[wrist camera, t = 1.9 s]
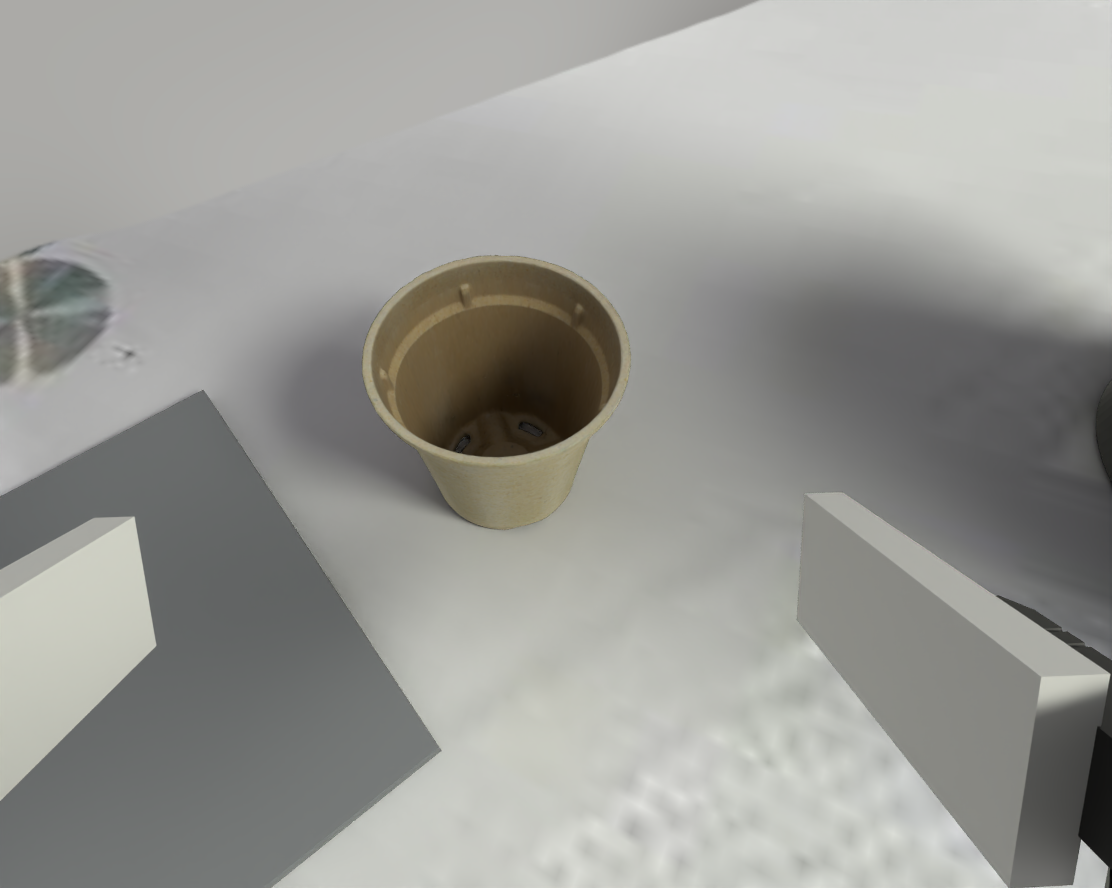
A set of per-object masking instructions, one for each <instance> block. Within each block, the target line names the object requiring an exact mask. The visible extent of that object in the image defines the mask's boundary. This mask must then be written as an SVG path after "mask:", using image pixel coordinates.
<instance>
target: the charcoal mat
mask: <svg viewBox="0 0 1112 888" xmlns="http://www.w3.org/2000/svg"><path fill="white" fill-rule="evenodd" d="M133 516H134V517H135V523H136V529H137V535H138V540H139V546H140V552H141V558H142V564H143V570H144V576H145V582H146V587H147V593H148V599H149V605H150V611H151V617H152V623H153V629H154V635H155V640H156V647H155V648H154V649H153V650H152V651H151V652H150V653H149V654H148V655H147V656H146V657H145V658H144V659H143V660H142V661H141V662H140V663H139V664H138V665H137V666H136V667H135V668H134V669H132V670H131V671H130V672H129V673H128V674H127V675H126V676H125V677H124V678H123V679H122V680H121V681H120V682H119V683H118V684H117V685H116V686H115V687H114V688H113V689H112V690H111V691H110V692H109V693H108V694H107V695H106V696H105V697H104V698H103V699H102V700H101V701H100V702H99V703H98V704H97V705H96V706H95V707H94V708H93V709H92V710H91V711H90V712H89V713H88V714H87V715H86V716H85V717H84V718H83V719H82V720H81V721H80V722H79V723H78V724H77V725H76V726H75V727H74V728H73V729H72V730H71V731H70V732H69V733H68V734H67V735H66V736H65V737H64V738H63V739H62V740H61V741H60V742H59V743H58V744H57V745H56V746H55V747H54V748H53V749H52V750H51V751H50V752H49V753H48V754H47V755H46V756H45V757H44V758H43V759H42V760H41V761H40V762H39V763H38V764H37V765H36V766H35V767H34V768H33V769H32V770H31V771H30V772H29V773H28V774H27V775H26V776H25V777H24V778H23V779H22V780H21V781H20V782H19V783H18V784H17V785H16V786H15V787H14V788H13V789H12V790H11V791H10V792H9V793H8V794H7V795H6V796H5V797H4V798H3V799H2V800H1V801H0V888H271V887H272V886H274V885H275V884H276V883H277V882H279V881H280V880H281V879H282V878H284V877H285V876H286V875H287V874H288V873H290V872H291V871H292V870H293V869H295V868H296V867H297V866H298V865H300V864H301V863H302V862H303V861H305V860H306V859H307V858H308V857H310V856H311V855H312V854H313V853H315V852H316V851H317V850H318V849H320V848H321V847H322V846H323V845H325V844H326V843H327V842H328V841H330V840H331V839H332V838H333V837H335V836H336V835H337V834H338V833H339V832H341V831H342V830H343V829H344V828H346V827H347V826H348V825H349V824H351V823H352V822H353V821H354V820H356V819H357V818H358V817H359V816H361V815H362V814H363V813H364V812H366V811H367V810H368V809H369V808H371V807H372V806H373V805H374V804H376V803H377V802H378V801H379V800H381V799H382V798H383V797H384V796H386V795H387V794H388V793H389V792H390V791H392V790H393V789H394V788H395V787H397V786H398V785H399V784H400V783H402V782H403V781H404V780H405V779H407V778H408V777H409V776H410V775H412V774H413V773H414V772H415V771H417V770H418V769H419V768H420V767H422V766H423V765H424V764H425V763H427V762H428V761H429V760H430V759H432V758H433V757H434V756H435V755H437V754H438V753H439V752H440V751H441V749H440V748H439V746H438V745H437V743H436V742H435V740H434V739H433V737H432V736H431V734H430V733H429V731H428V730H427V728H426V727H425V725H424V723H423V722H422V720H421V719H420V717H419V716H418V714H417V713H416V711H415V710H414V708H413V707H412V705H411V704H410V702H409V701H408V699H407V698H406V696H405V695H404V693H403V692H402V690H401V689H400V687H399V686H398V684H397V683H396V681H395V679H394V678H393V676H392V675H391V673H390V672H389V670H388V669H387V667H386V666H385V664H384V663H383V661H382V660H381V658H380V657H379V655H378V654H377V652H376V651H375V649H374V648H373V646H372V645H371V643H370V642H369V640H368V639H367V637H366V635H365V634H364V632H363V631H362V629H361V628H360V626H359V625H358V623H357V622H356V620H355V619H354V617H353V616H352V614H351V613H350V611H349V610H348V608H347V607H346V605H345V604H344V602H343V601H342V599H341V598H340V596H339V595H338V593H337V591H336V590H335V588H334V587H333V585H332V584H331V582H330V581H329V579H328V578H327V576H326V575H325V573H324V572H323V570H322V569H321V567H320V566H319V564H318V563H317V561H316V560H315V558H314V557H313V555H312V554H311V552H310V550H309V549H308V547H307V546H306V544H305V543H304V541H303V540H302V538H301V537H300V535H299V534H298V532H297V531H296V529H295V528H294V526H293V525H292V523H291V522H290V520H289V519H288V517H287V516H286V514H285V513H284V511H283V510H282V508H281V506H280V505H279V503H278V502H277V500H276V499H275V497H274V496H273V494H272V493H271V491H270V490H269V488H268V487H267V485H266V484H265V482H264V481H263V479H262V478H261V476H260V475H259V473H258V472H257V470H256V469H255V467H254V466H253V464H252V462H251V461H250V459H249V458H248V456H247V455H246V453H245V452H244V450H243V449H242V447H241V446H240V444H239V443H238V441H237V440H236V438H235V437H234V435H233V434H232V432H231V431H230V429H229V428H228V426H227V425H226V423H225V422H224V420H223V418H222V417H221V415H220V414H219V412H218V411H217V409H216V408H215V406H214V405H213V403H212V402H211V400H210V399H209V397H208V396H207V395H206V393H205V392H204V390H202V391H200V392H198V393H196V394H194V395H192V396H190V397H189V398H187V399H185V400H183V401H181V402H179V403H177V404H175V405H173V406H172V407H170V408H168V409H166V410H164V411H162V412H160V413H158V414H156V415H154V416H153V417H151V418H149V419H147V420H145V421H143V422H141V423H139V424H137V425H135V426H134V427H132V428H130V429H128V430H126V431H124V432H122V433H120V434H118V435H117V436H115V437H113V438H111V439H109V440H107V441H105V442H103V443H101V444H99V445H98V446H96V447H94V448H92V449H90V450H88V451H86V452H84V453H82V454H80V455H79V456H77V457H75V458H73V459H71V460H69V461H67V462H65V463H63V464H62V465H60V466H58V467H56V468H54V469H52V470H50V471H48V472H46V473H44V474H43V475H41V476H39V477H37V478H35V479H33V480H31V481H29V482H27V483H25V484H24V485H22V486H20V487H18V488H16V489H14V490H12V491H10V492H8V493H7V494H5V495H3V496H1V497H0V570H1V569H3V568H4V567H6V566H8V565H10V564H12V563H13V562H15V561H17V560H19V559H21V558H22V557H24V556H26V555H28V554H30V553H31V552H33V551H35V550H37V549H39V548H40V547H42V546H44V545H46V544H48V543H49V542H51V541H53V540H55V539H57V538H58V537H60V536H62V535H64V534H66V533H67V532H69V531H71V530H73V529H75V528H77V527H78V526H80V525H82V524H84V523H86V522H87V521H89V520H91V519H93V518H104V517H133Z"/></svg>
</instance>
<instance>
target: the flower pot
mask: <svg viewBox="0 0 1112 888" xmlns="http://www.w3.org/2000/svg"><path fill="white" fill-rule="evenodd" d="M630 367H631V352H630V345H629V340H628V336H627V332H626V331H625V327H624V325H623V322H622V320H621V318H620V316H619V315H618V313H617V312H616V310H615V309H614V307H613V306H612V304H611V303H610V302H609V301H608V300H607V298H606V297H605V296H604V295H603V294H602V293H601V292H600V291H599V290H598V289H597V288H596V287H594V286H593V285H592V284H591V283H589V282H588V281H586V280H584V279H583V278H582V277H580V276H578V275H577V274H575V273H574V272H572V271H569V270H567V269H565V268H563V267H560V266H557V265H554V264H552V263H548V262H545V261H540V260H536V259H531V258H527V257H520V256H498V255H495V256H491V255H490V256H476V257H471V258H467V259H462V260H457V261H453V262H450V263H447V264H444V265H441V266H439V267H437V268H434V269H433V270H431V271H428V272H425V273H423V274H421V275H420V276H418V277H416V278H415V279H414V280H413V281H411V282H410V283H408V284H407V285H406V286H404V287H402V288H401V289H400V290H399V291H398V292H397V293H396V294H395V295H393V296H392V298H391V299H390V300H389V301H388V302H387V303H386V304H385V305H384V306H383V308H382V309H381V311H380V312H379V313H378V315H377V317H376V318H375V320H374V321H373V323H372V325H371V327H370V329H369V331H368V334H367V337H366V341H365V344H364V347H363V357H362V376H363V379H364V380H363V381H364V384H365V388H366V391H367V394H368V396H369V399H370V401H371V403H372V405H373V407H374V408H375V410H376V412H377V413H378V415H379V416H380V418H381V419H382V420H383V422H384V423H385V424H386V425H387V426H388V427H389V428H390V429H391V431H392V432H394V433H395V434H396V435H397V436H398V437H399V438H400V439H402V440H403V441H404V442H405V443H407V444H408V445H410V446H411V447H413V448H415V449H417V451H418V452H419V454H420V456H421V457H422V459H423V461H424V463H425V464H426V466H427V468H428V470H429V471H430V473H431V475H432V476H433V478H434V480H435V482H436V483H437V485H438V487H439V489H440V491H441V493H442V495H443V497H444V498H445V500H446V502H447V503H448V504H449V505H450V506H451V507H452V508H453V509H454V510H455V511H456V512H457V513H458V514H459V515H460V516H462V517H463V518H465V519H466V520H468V521H470V522H472V523H474V524H477V525H480V526H483V527H487V528H492V529H502V530H506V529H512V528H515V527H519V526H524V525H528V524H531V523H534V522H537V521H540V520H543V519H544V518H546V517H548V516H549V515H550V514H552V513H553V512H554V511H555V510H556V509H557V508H558V507H559V506H560V505H561V504H562V502H563V501H564V500H565V498H566V497H567V495H568V493H569V492H570V489H571V487H572V484H573V481H574V478H575V475H576V472H577V469H578V467H579V464H580V461H581V459H582V456H583V453H584V451H585V448H586V446H587V443H588V441H589V438H590V437H591V436H592V435H593V434H594V433H596V432H597V431H598V430H599V429H600V428H601V427H602V426H603V425H604V423H605V422H606V421H607V420H608V419H609V418H610V416H611V415H612V414H613V412H614V410H615V409H616V407H617V406H618V404H619V402H620V400H621V398H622V396H623V393H624V391H625V388H626V385H627V382H628V377H629V372H630ZM521 423H529V424H531V425H533V426H534V427H536V429H540V430H541V431H542V432H543V434H541V436H540V437H537V436H535V435H533V434H530V433H528V432H526V431H524V430H522V429H519V425H520V424H521ZM467 435H469V436H470V442H469V444H468V445H467V446H465V448H464V449H463V451H462V453H456V452H455V449H456V447H457V446H458V444H459V442H460V441H461V439H462V438H463V437H465V436H467Z"/></svg>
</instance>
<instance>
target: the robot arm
mask: <svg viewBox="0 0 1112 888" xmlns="http://www.w3.org/2000/svg"><path fill="white" fill-rule="evenodd" d="M1096 429H1097V439H1098V446H1099V450H1100V454H1101V457H1102V460H1103V463H1104V466H1105V468H1106V471H1107V473H1108V475H1109V478H1110V480H1111V481H1112V380H1111V381H1110V383H1109V384H1108V385H1107V387H1106V389H1105V391H1104V392H1103V395H1102V397H1101V400H1100V403H1099V407H1098V412H1097V421H1096ZM797 621H798V622H799V623H800V624H801V626H802V627H803V628H804V630H805V631H806V632H807V633H808V635H809V636H810V637H811V638H812V640H813V641H814V642H815V643H816V645H817V646H818V647H819V649H820V650H821V651H822V652H823V654H824V655H825V656H826V657H827V659H828V660H829V661H830V662H831V664H832V665H833V666H834V668H835V669H836V670H837V671H838V673H839V674H840V675H841V676H842V678H843V679H844V680H845V681H846V683H847V684H848V685H849V686H850V688H851V689H852V690H853V692H854V693H855V694H856V695H857V697H858V698H859V699H860V700H861V702H862V703H863V704H864V705H865V707H866V708H867V709H868V711H869V712H870V713H871V714H872V716H873V717H874V718H875V719H876V721H877V722H878V723H879V724H880V726H881V727H882V728H883V729H884V731H885V732H886V733H887V735H888V736H889V737H890V738H891V740H892V741H893V742H894V743H895V745H896V746H897V747H898V748H899V750H900V751H901V752H902V754H903V755H904V756H905V757H906V759H907V760H908V761H909V762H910V764H911V765H912V766H913V767H914V769H915V770H916V771H917V772H918V774H919V775H920V776H921V778H922V779H923V780H924V781H925V783H926V784H927V785H928V786H929V788H930V789H931V790H932V791H933V793H934V794H935V795H936V797H937V798H938V799H939V800H940V802H941V803H942V804H943V805H944V807H945V808H946V809H947V810H948V812H949V813H950V814H951V815H952V817H953V818H954V819H955V821H956V822H957V823H958V824H959V826H960V827H961V828H962V829H963V831H964V832H965V833H966V834H967V836H968V837H969V838H970V840H971V841H972V842H973V843H974V845H975V846H976V847H977V848H978V850H979V851H980V852H981V853H982V855H983V856H984V857H985V858H986V860H987V861H988V862H989V864H990V865H991V866H992V867H993V869H994V870H995V871H996V872H997V874H998V875H999V876H1000V877H1001V879H1002V880H1003V881H1004V883H1005V884H1006V885H1007V886H1008V888H1025V887H1044V886H1062V885H1073V882H1074V876H1075V871H1076V865H1077V859H1078V854H1079V848H1080V842H1081V839H1082V840H1083V841H1084V842H1085V843H1086V844H1087V845H1088V846H1089V847H1090V849H1091V850H1092V851H1093V852H1094V853H1095V854H1096V855H1097V856H1098V857H1099V858H1100V859H1101V860H1102V861H1103V862H1104V863H1105V864H1106V865H1107V866H1108V867H1109V868H1108V873H1107V878H1106V883H1105V888H1112V660H1110V659H1109V658H1107V657H1105V656H1104V655H1102V654H1101V653H1099V652H1098V651H1096V650H1095V649H1093V648H1092V647H1085V643H1084V642H1083V641H1081V640H1079V639H1078V638H1076V637H1075V636H1073V635H1072V634H1070V633H1069V632H1063V631H1062V628H1061V627H1060V626H1058V625H1057V624H1055V623H1053V622H1052V621H1050V620H1049V619H1047V618H1046V617H1044V616H1043V615H1041V614H1040V613H1038V612H1037V611H1035V610H1033V609H1030V608H1028V607H1026V606H1023V605H1021V604H1018V603H1016V602H1013V601H1011V600H1008V599H1006V598H1003V597H1001V596H995V595H993V594H992V593H990V592H989V591H987V590H986V589H984V588H983V587H982V586H980V585H979V584H977V583H976V582H974V581H973V580H971V579H970V578H968V577H967V576H965V575H964V574H962V573H961V572H959V571H958V570H956V569H955V568H953V567H952V566H951V565H949V564H948V563H946V562H945V561H943V560H942V559H940V558H939V557H937V556H936V555H934V554H933V553H931V552H930V551H928V550H927V549H925V548H924V547H923V546H921V545H920V544H918V543H917V542H915V541H914V540H912V539H911V538H909V537H908V536H906V535H905V534H903V533H902V532H900V531H899V530H897V529H896V528H894V527H893V526H892V525H890V524H889V523H887V522H886V521H884V520H883V519H881V518H880V517H878V516H877V515H875V514H874V513H872V512H871V511H869V510H868V509H866V508H865V507H864V506H862V505H861V504H859V503H858V502H856V501H855V500H853V499H852V498H850V497H849V496H847V495H846V494H844V493H843V492H830V493H804V510H803V526H802V542H801V558H800V575H799V591H798V607H797ZM155 647H156V640H155V635H154V629H153V623H152V617H151V611H150V605H149V599H148V593H147V587H146V582H145V576H144V570H143V564H142V558H141V552H140V546H139V540H138V535H137V529H136V523H135V517H134V516H133V517H104V518H93V519H91V520H89V521H87V522H86V523H84V524H82V525H80V526H78V527H77V528H75V529H73V530H71V531H69V532H67V533H66V534H64V535H62V536H60V537H58V538H57V539H55V540H53V541H51V542H49V543H48V544H46V545H44V546H42V547H40V548H39V549H37V550H35V551H33V552H31V553H30V554H28V555H26V556H24V557H22V558H21V559H19V560H17V561H15V562H13V563H12V564H10V565H8V566H6V567H4V568H3V569H1V570H0V801H1V800H2V799H3V798H4V797H5V796H6V795H7V794H8V793H9V792H10V791H11V790H12V789H13V788H14V787H15V786H16V785H17V784H18V783H19V782H20V781H21V780H22V779H23V778H24V777H25V776H26V775H27V774H28V773H29V772H30V771H31V770H32V769H33V768H34V767H35V766H36V765H37V764H38V763H39V762H40V761H41V760H42V759H43V758H44V757H45V756H46V755H47V754H48V753H49V752H50V751H51V750H52V749H53V748H54V747H55V746H56V745H57V744H58V743H59V742H60V741H61V740H62V739H63V738H64V737H65V736H66V735H67V734H68V733H69V732H70V731H71V730H72V729H73V728H74V727H75V726H76V725H77V724H78V723H79V722H80V721H81V720H82V719H83V718H84V717H85V716H86V715H87V714H88V713H89V712H90V711H91V710H92V709H93V708H94V707H95V706H96V705H97V704H98V703H99V702H100V701H101V700H102V699H103V698H104V697H105V696H106V695H107V694H108V693H109V692H110V691H111V690H112V689H113V688H114V687H115V686H116V685H117V684H118V683H119V682H120V681H121V680H122V679H123V678H124V677H125V676H126V675H127V674H128V673H129V672H130V671H131V670H132V669H134V668H135V667H136V666H137V665H138V664H139V663H140V662H141V661H142V660H143V659H144V658H145V657H146V656H147V655H148V654H149V653H150V652H151V651H152V650H153V649H154V648H155Z"/></svg>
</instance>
